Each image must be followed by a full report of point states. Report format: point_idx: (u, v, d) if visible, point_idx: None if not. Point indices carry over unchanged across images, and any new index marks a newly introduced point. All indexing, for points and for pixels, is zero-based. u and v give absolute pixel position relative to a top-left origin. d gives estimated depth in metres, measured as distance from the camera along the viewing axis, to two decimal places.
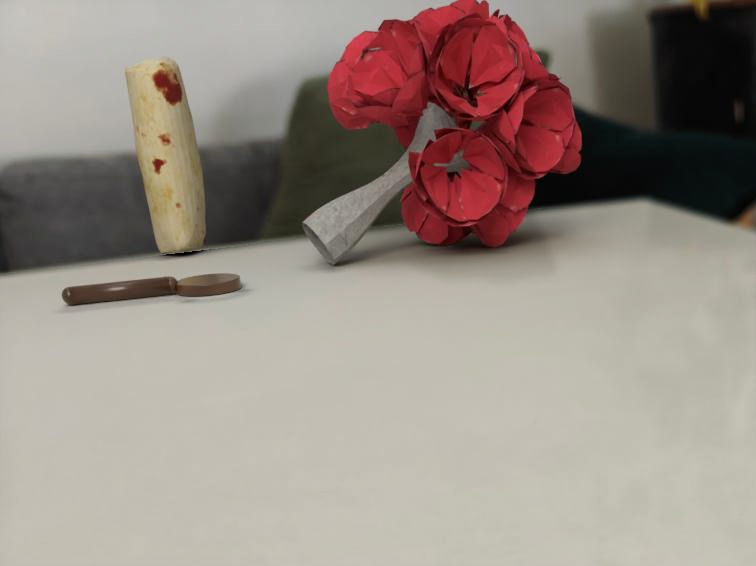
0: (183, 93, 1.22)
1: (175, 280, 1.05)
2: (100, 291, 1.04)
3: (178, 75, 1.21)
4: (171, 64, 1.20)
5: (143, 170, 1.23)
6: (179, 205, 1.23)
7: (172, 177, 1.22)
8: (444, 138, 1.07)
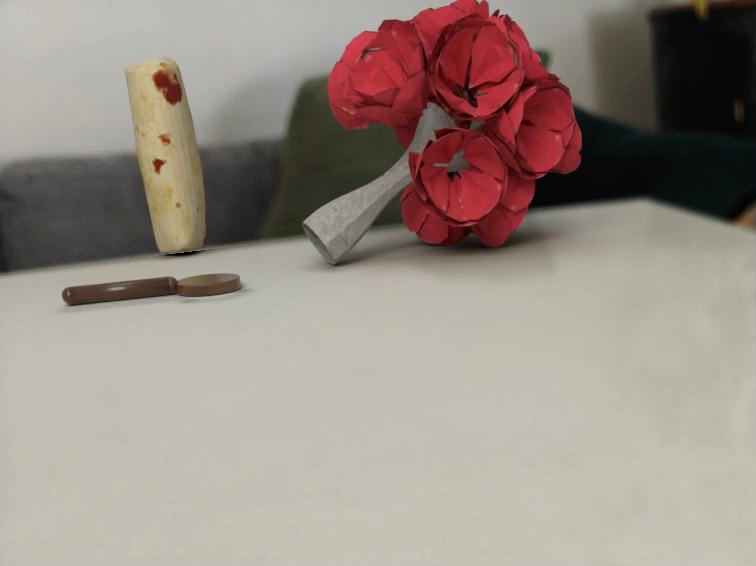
0: (183, 93, 1.22)
1: (175, 280, 1.05)
2: (100, 291, 1.04)
3: (178, 75, 1.21)
4: (171, 64, 1.20)
5: (143, 170, 1.23)
6: (179, 205, 1.23)
7: (172, 177, 1.22)
8: (444, 138, 1.07)
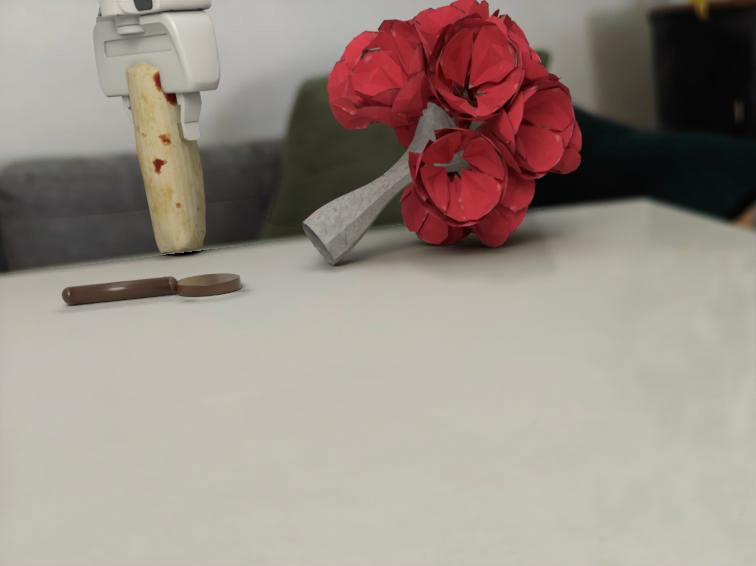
0: None
1: (175, 280, 1.05)
2: (100, 291, 1.04)
3: None
4: None
5: (143, 170, 1.23)
6: (179, 205, 1.23)
7: (172, 176, 1.22)
8: (444, 138, 1.07)
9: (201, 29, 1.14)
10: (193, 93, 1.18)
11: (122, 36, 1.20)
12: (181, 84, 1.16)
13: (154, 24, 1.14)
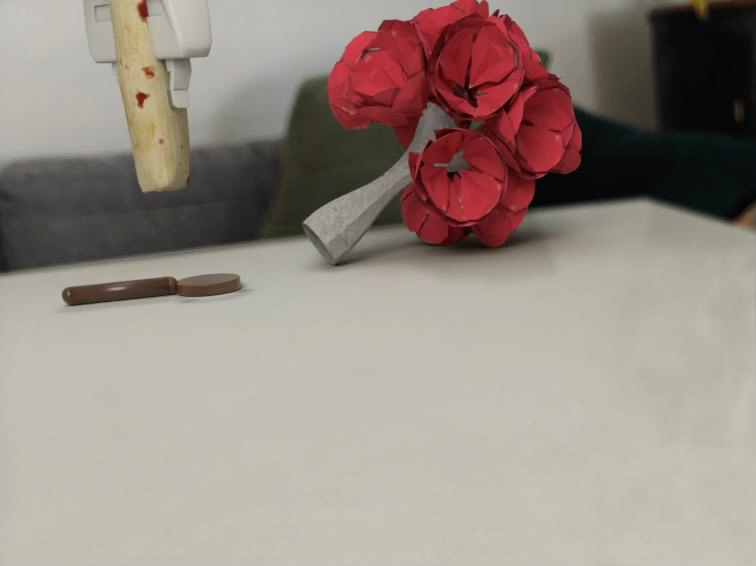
0: None
1: (175, 280, 1.05)
2: (100, 291, 1.04)
3: None
4: None
5: (126, 104, 1.20)
6: (162, 141, 1.20)
7: (155, 111, 1.19)
8: (444, 138, 1.07)
9: None
10: (183, 60, 1.17)
11: None
12: (171, 50, 1.14)
13: None
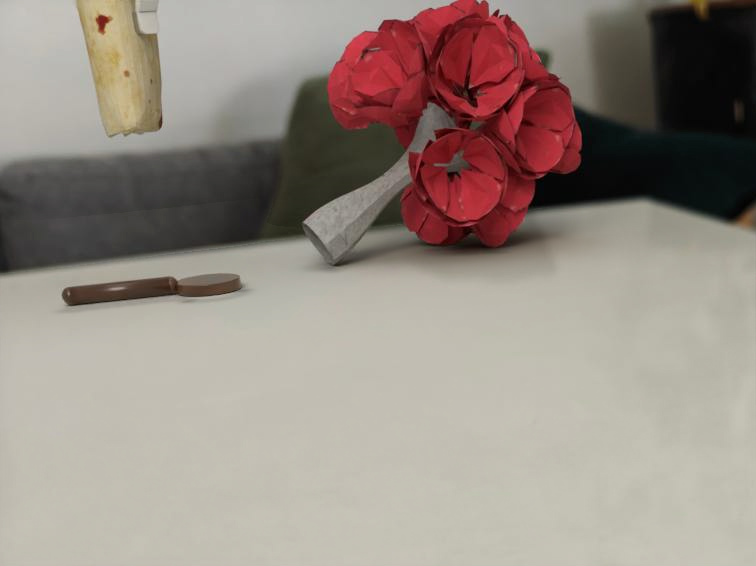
0: None
1: (175, 280, 1.05)
2: (100, 291, 1.04)
3: None
4: None
5: (85, 31, 1.03)
6: (127, 73, 1.03)
7: (119, 38, 1.02)
8: (444, 138, 1.07)
9: None
10: None
11: None
12: None
13: None
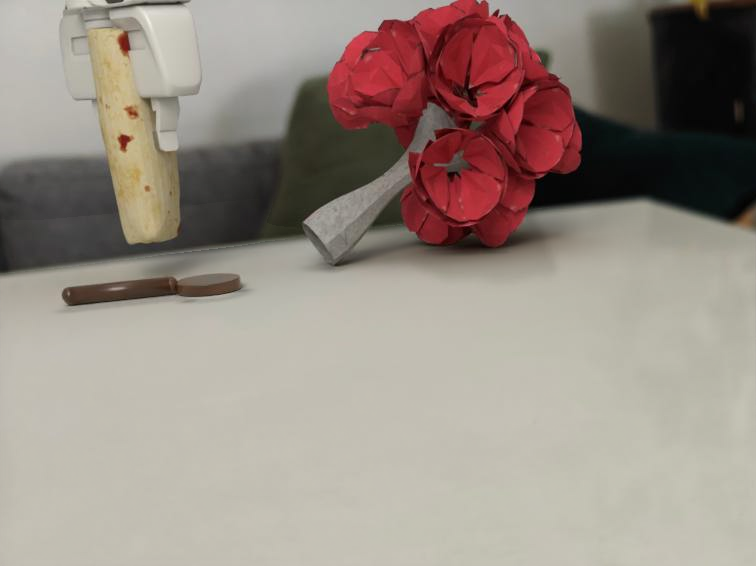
0: None
1: (175, 280, 1.05)
2: (100, 291, 1.04)
3: None
4: None
5: (107, 148, 1.07)
6: (148, 188, 1.07)
7: (140, 155, 1.06)
8: (444, 138, 1.07)
9: (179, 26, 0.99)
10: (170, 98, 1.04)
11: None
12: (157, 88, 1.01)
13: (126, 19, 0.99)
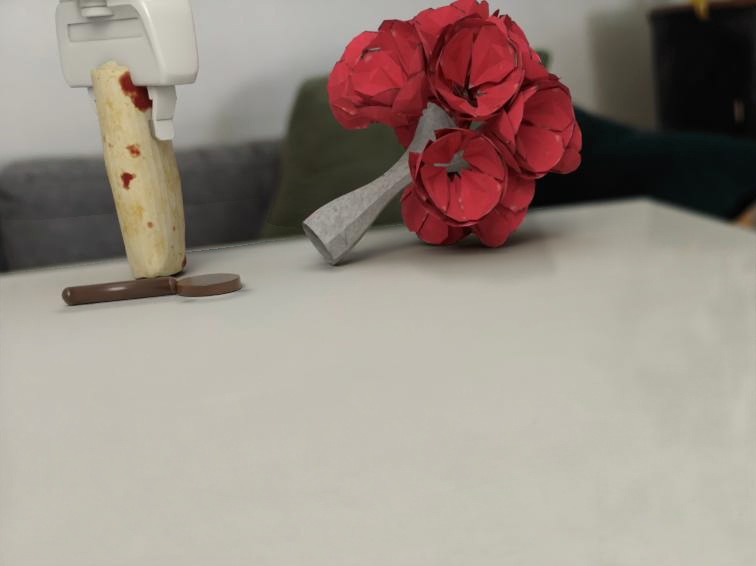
0: None
1: (175, 280, 1.05)
2: (100, 291, 1.04)
3: None
4: None
5: (112, 185, 1.09)
6: (151, 224, 1.09)
7: (142, 193, 1.07)
8: (444, 138, 1.07)
9: (177, 14, 0.99)
10: (167, 87, 1.03)
11: (87, 19, 1.05)
12: (153, 76, 1.01)
13: (123, 6, 0.99)
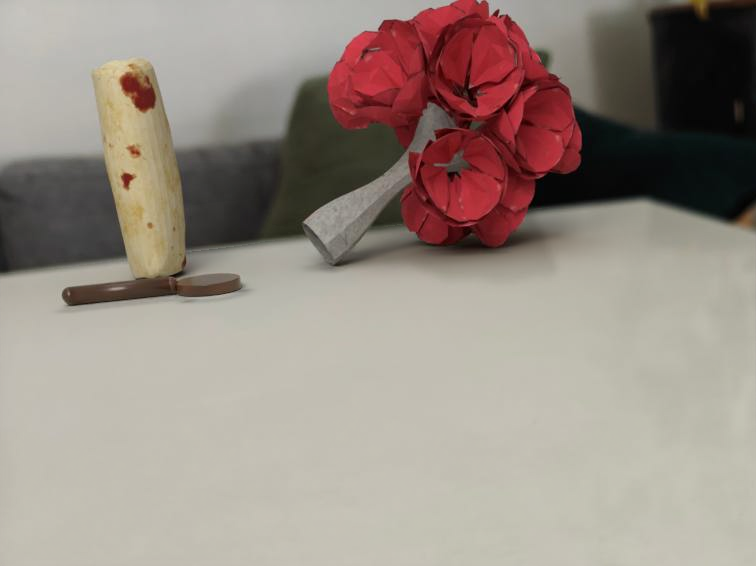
0: (157, 98, 1.07)
1: (175, 280, 1.05)
2: (100, 291, 1.04)
3: (151, 78, 1.06)
4: (143, 65, 1.05)
5: (112, 185, 1.09)
6: (151, 225, 1.09)
7: (143, 193, 1.07)
8: (444, 138, 1.07)
9: None
10: None
11: None
12: None
13: None
